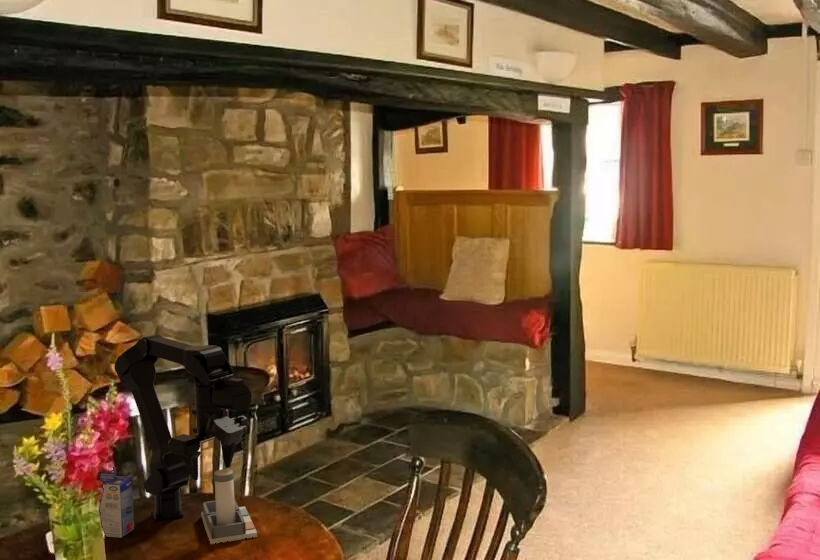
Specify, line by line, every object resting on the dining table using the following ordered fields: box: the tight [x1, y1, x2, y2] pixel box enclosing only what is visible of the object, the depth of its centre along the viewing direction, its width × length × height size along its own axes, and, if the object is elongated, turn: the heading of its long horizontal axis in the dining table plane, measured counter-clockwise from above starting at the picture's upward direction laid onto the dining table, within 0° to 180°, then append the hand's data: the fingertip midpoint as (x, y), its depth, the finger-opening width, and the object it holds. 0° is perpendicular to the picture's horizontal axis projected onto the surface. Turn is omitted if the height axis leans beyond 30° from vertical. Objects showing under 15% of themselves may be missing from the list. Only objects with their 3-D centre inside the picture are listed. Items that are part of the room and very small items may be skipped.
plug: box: [213, 468, 235, 526], centre depth 187 cm, size 4×4×13 cm
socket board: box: [200, 497, 258, 545], centre depth 191 cm, size 15×10×4 cm, turn 20°
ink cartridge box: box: [99, 466, 135, 539], centre depth 188 cm, size 10×6×14 cm, turn 78°
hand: (211, 473), depth 188 cm, fingers open, 9 cm apart
